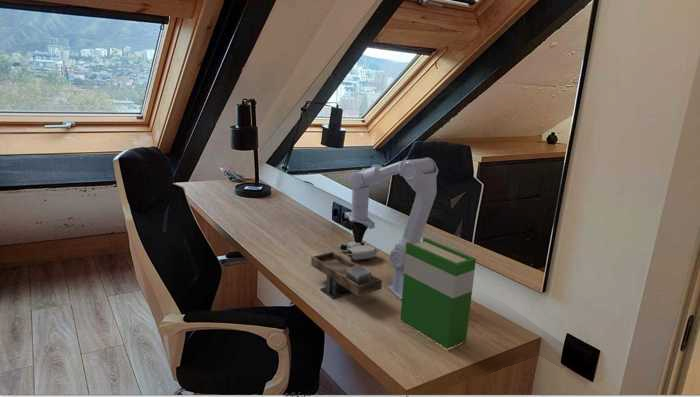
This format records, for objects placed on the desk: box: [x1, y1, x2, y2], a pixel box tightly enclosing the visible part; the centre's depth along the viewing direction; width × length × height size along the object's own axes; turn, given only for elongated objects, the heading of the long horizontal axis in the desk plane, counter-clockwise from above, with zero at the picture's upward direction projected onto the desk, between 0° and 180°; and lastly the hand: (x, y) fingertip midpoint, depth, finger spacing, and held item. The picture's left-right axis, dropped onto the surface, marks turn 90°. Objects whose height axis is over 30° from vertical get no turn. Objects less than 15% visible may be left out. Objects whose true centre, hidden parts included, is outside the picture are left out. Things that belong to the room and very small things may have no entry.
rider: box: [346, 264, 372, 286], centre depth 143 cm, size 7×5×5 cm
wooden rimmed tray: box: [310, 251, 383, 297], centre depth 149 cm, size 26×9×3 cm, turn 37°
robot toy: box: [337, 240, 382, 261], centre depth 178 cm, size 12×4×15 cm
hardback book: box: [400, 237, 477, 349], centre depth 125 cm, size 18×7×24 cm, turn 37°
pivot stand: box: [319, 275, 354, 300], centre depth 150 cm, size 7×14×6 cm, turn 127°
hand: (358, 242), depth 163 cm, fingers closed
